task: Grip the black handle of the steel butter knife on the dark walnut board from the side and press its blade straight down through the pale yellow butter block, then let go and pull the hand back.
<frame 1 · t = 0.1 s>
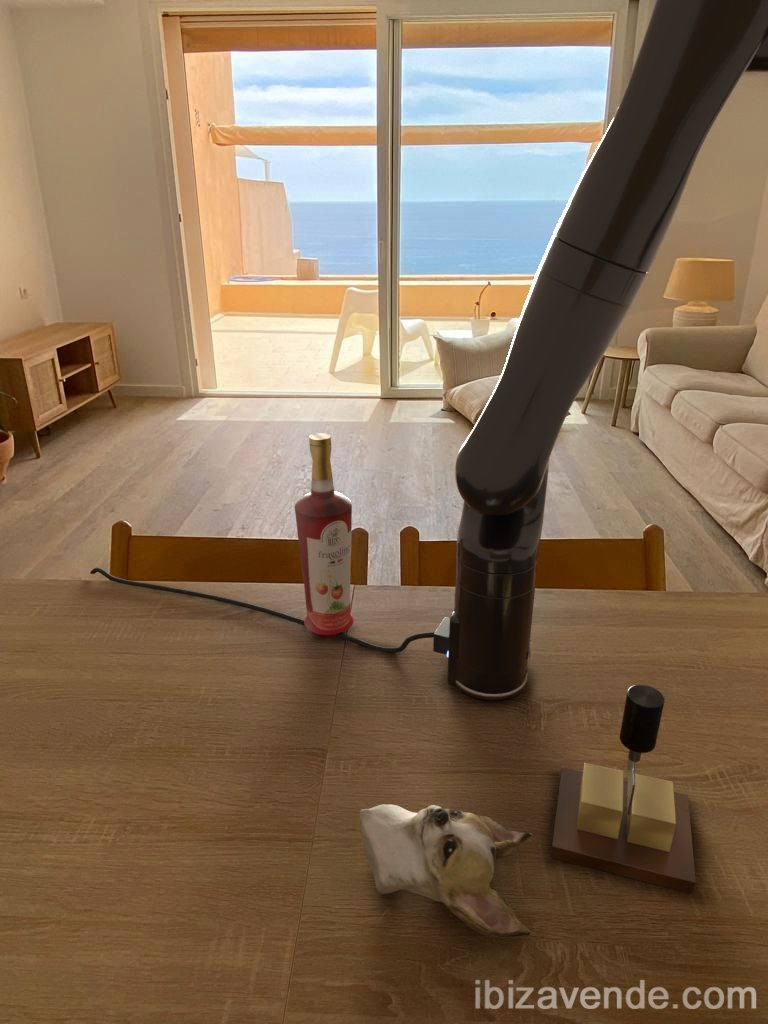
ceramic sculpture: (443, 885, 61), on the table
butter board: (620, 830, 66), on the table
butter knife: (636, 743, 61), point 11 cm above the table, slide at 0.0 cm
liquor: (329, 629, 97), on the table
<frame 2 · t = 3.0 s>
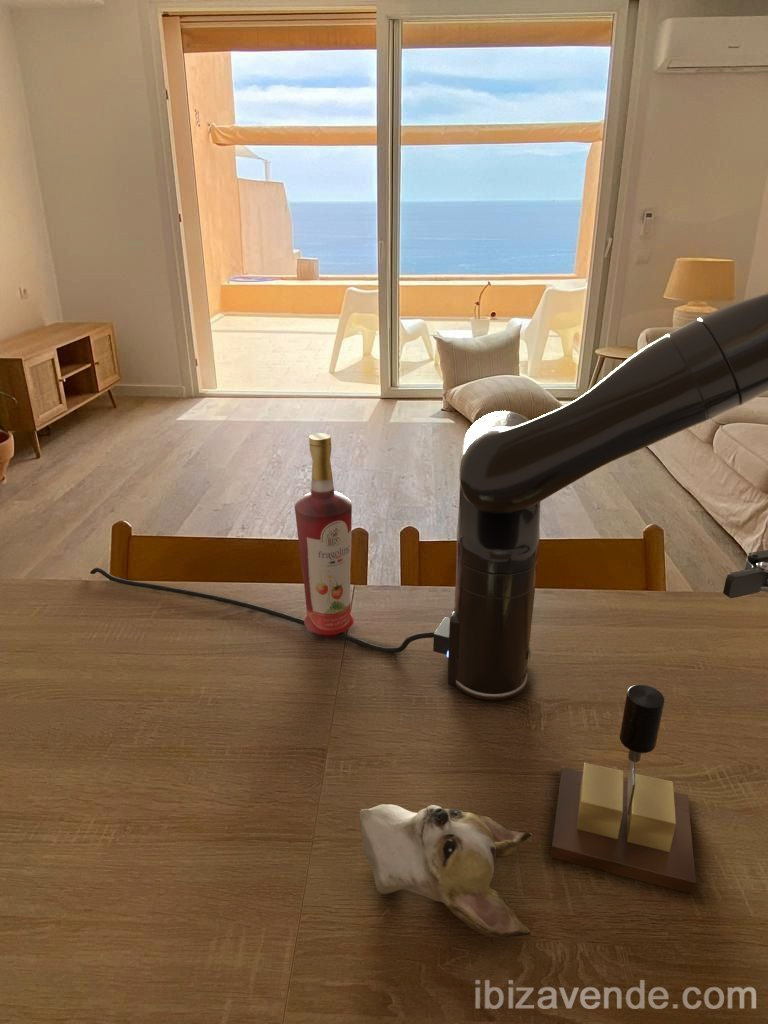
hand: (764, 611, 60), 22 cm above the table, tool horizontal, fingers open, 8 cm apart
nothing on the table moved.
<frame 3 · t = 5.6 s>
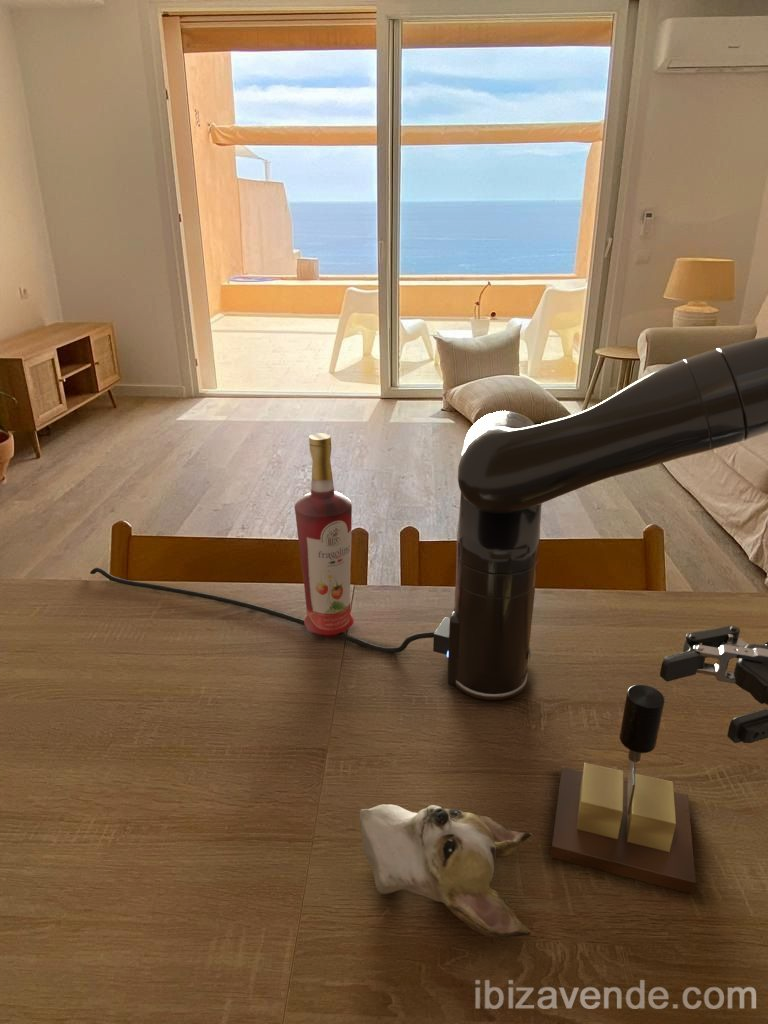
hand: (695, 699, 61), 14 cm above the table, tool horizontal, fingers open, 8 cm apart
nothing on the table moved.
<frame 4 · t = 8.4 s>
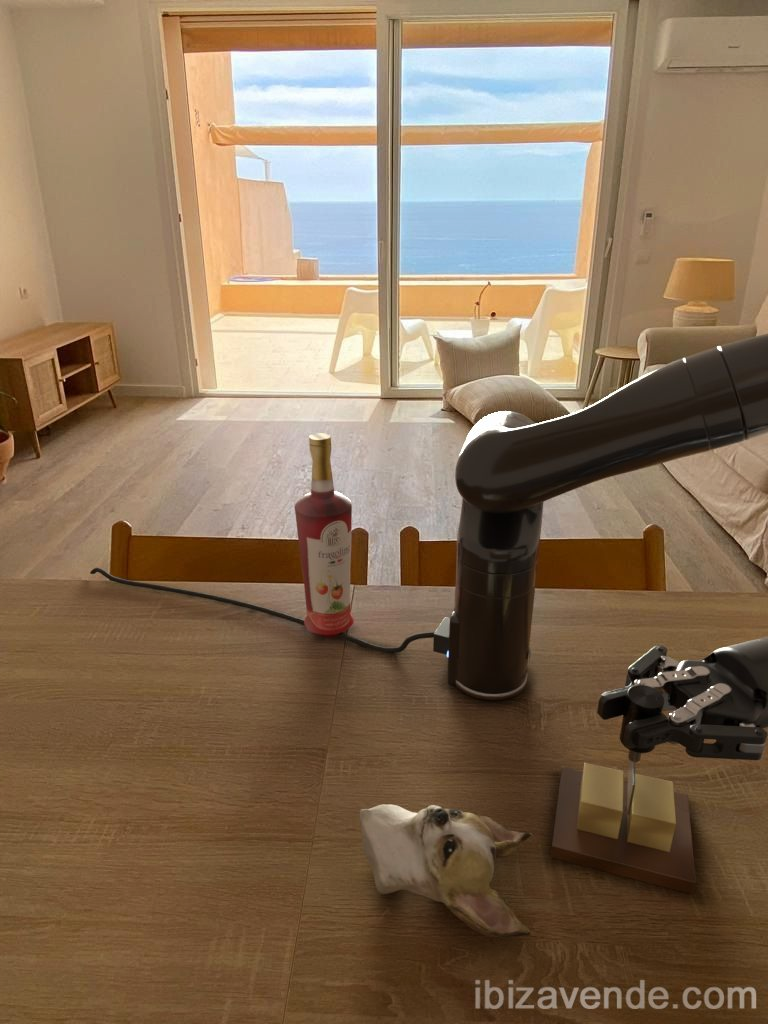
hand: (614, 722, 59), 14 cm above the table, tool horizontal, fingers closed on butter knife, 3 cm apart
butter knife: (636, 743, 61), point 11 cm above the table, slide at 0.0 cm, touching gripper
everything else where it was.
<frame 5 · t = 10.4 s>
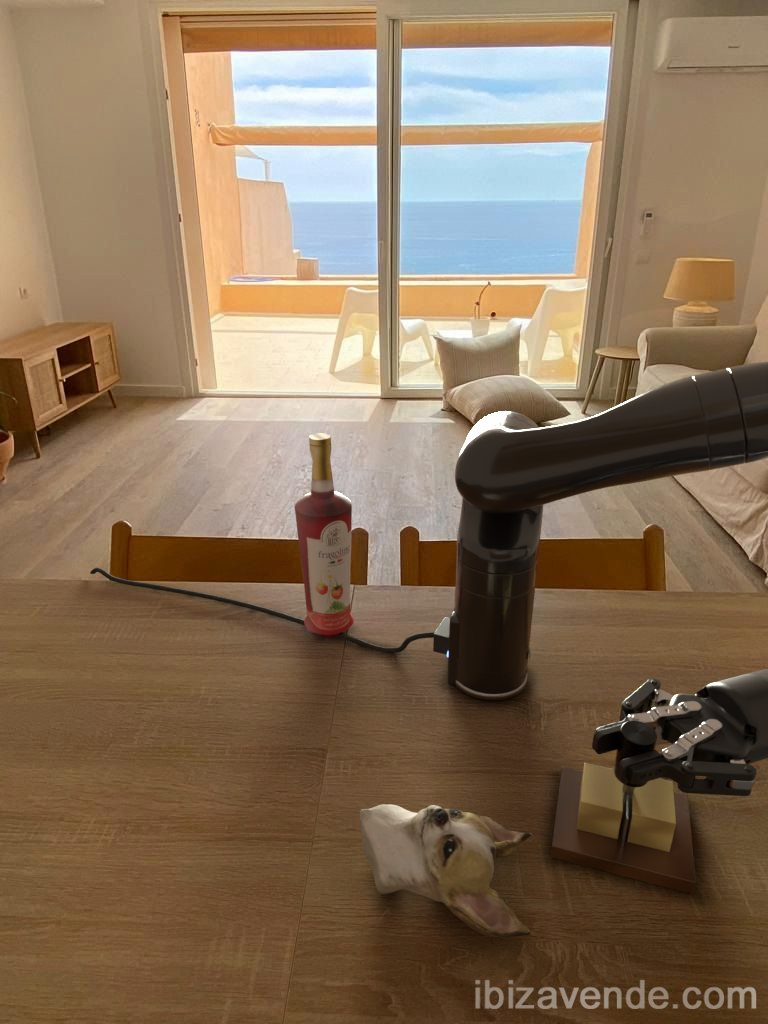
hand: (608, 757, 60), 10 cm above the table, tool horizontal, fingers closed on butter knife, 3 cm apart
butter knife: (630, 777, 63), point 7 cm above the table, slide at -4.0 cm, touching gripper
everything else where it was.
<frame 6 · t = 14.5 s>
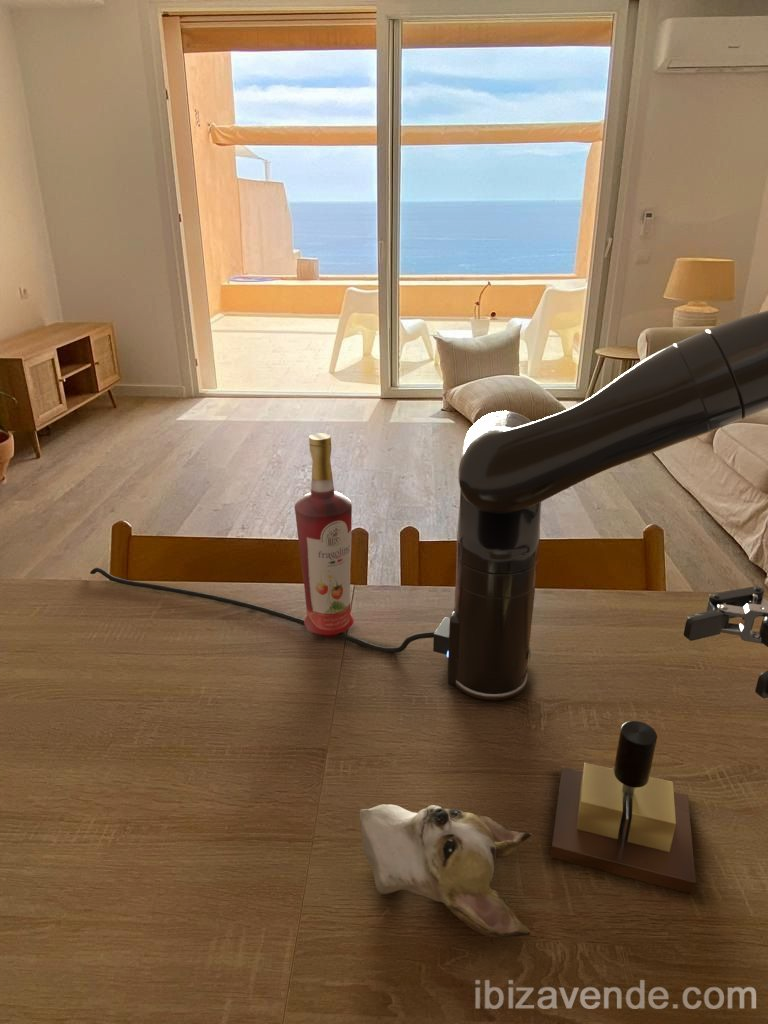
hand: (721, 656, 60), 18 cm above the table, tool horizontal, fingers open, 8 cm apart
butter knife: (630, 777, 63), point 7 cm above the table, slide at -4.0 cm, touching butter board
everything else where it was.
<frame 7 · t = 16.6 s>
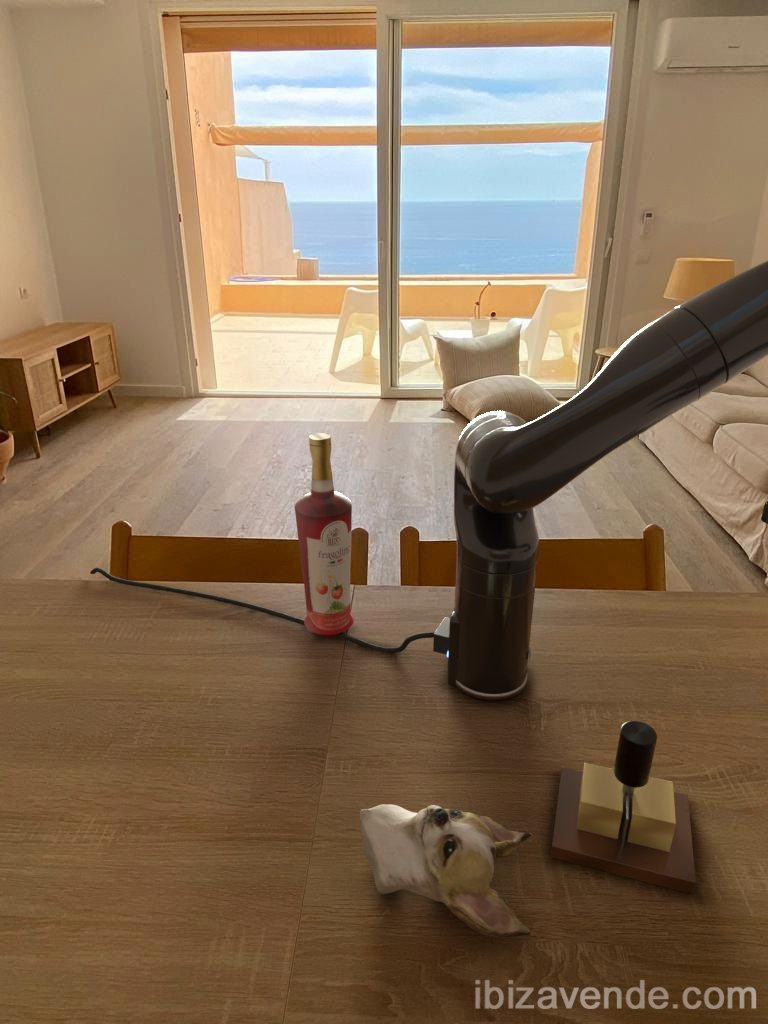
nothing on the table moved.
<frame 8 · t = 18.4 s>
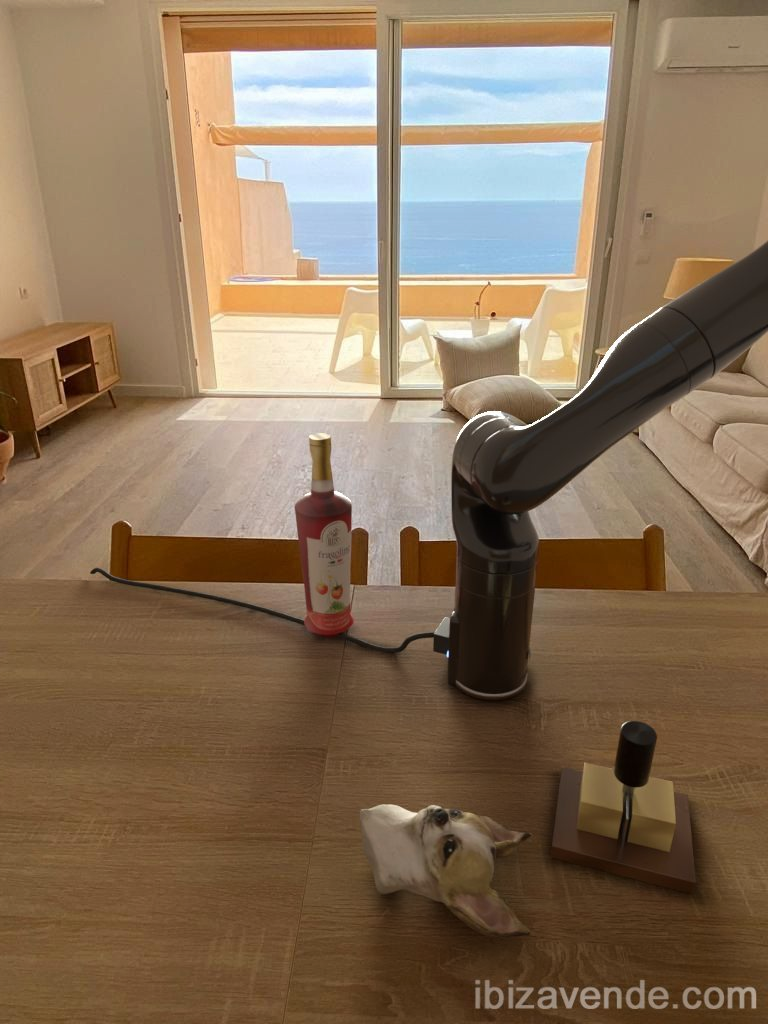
nothing on the table moved.
at the end: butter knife slide at -4.0 cm; the gripper is holding nothing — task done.
